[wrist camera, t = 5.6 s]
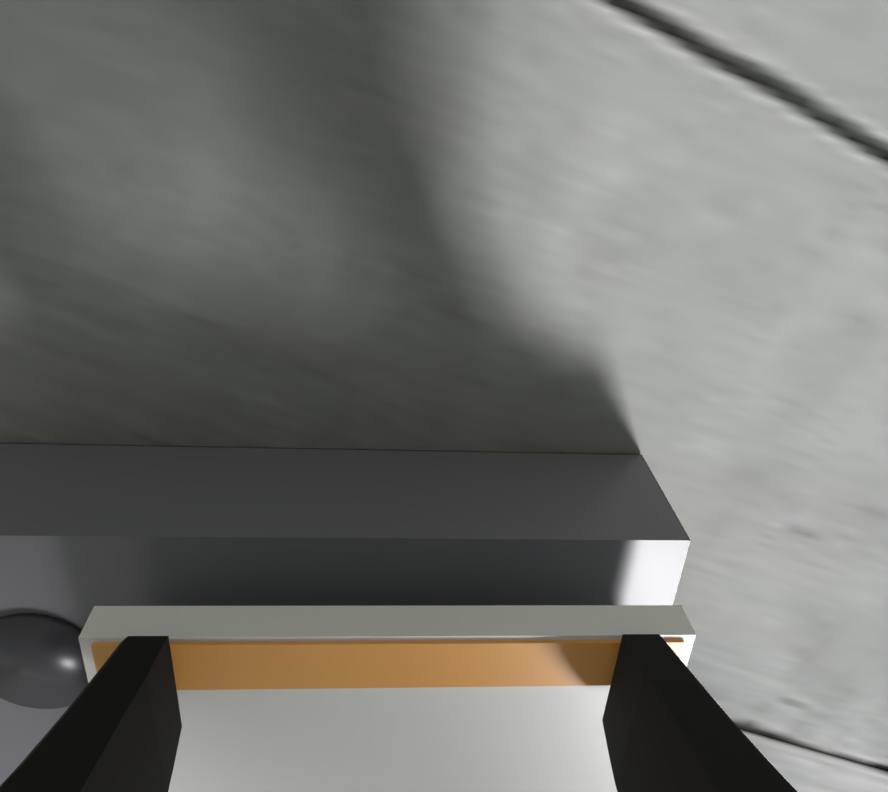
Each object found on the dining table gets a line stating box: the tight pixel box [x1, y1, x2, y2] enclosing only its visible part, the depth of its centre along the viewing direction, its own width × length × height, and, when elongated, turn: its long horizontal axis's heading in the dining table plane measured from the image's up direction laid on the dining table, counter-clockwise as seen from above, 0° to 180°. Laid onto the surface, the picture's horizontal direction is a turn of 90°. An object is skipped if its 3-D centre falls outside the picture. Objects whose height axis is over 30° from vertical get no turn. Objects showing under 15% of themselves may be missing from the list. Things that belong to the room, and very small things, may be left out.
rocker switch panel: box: [0, 444, 690, 785], centre depth 19 cm, size 18×14×3 cm
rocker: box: [78, 605, 696, 792], centre depth 13 cm, size 5×10×1 cm, turn 86°
